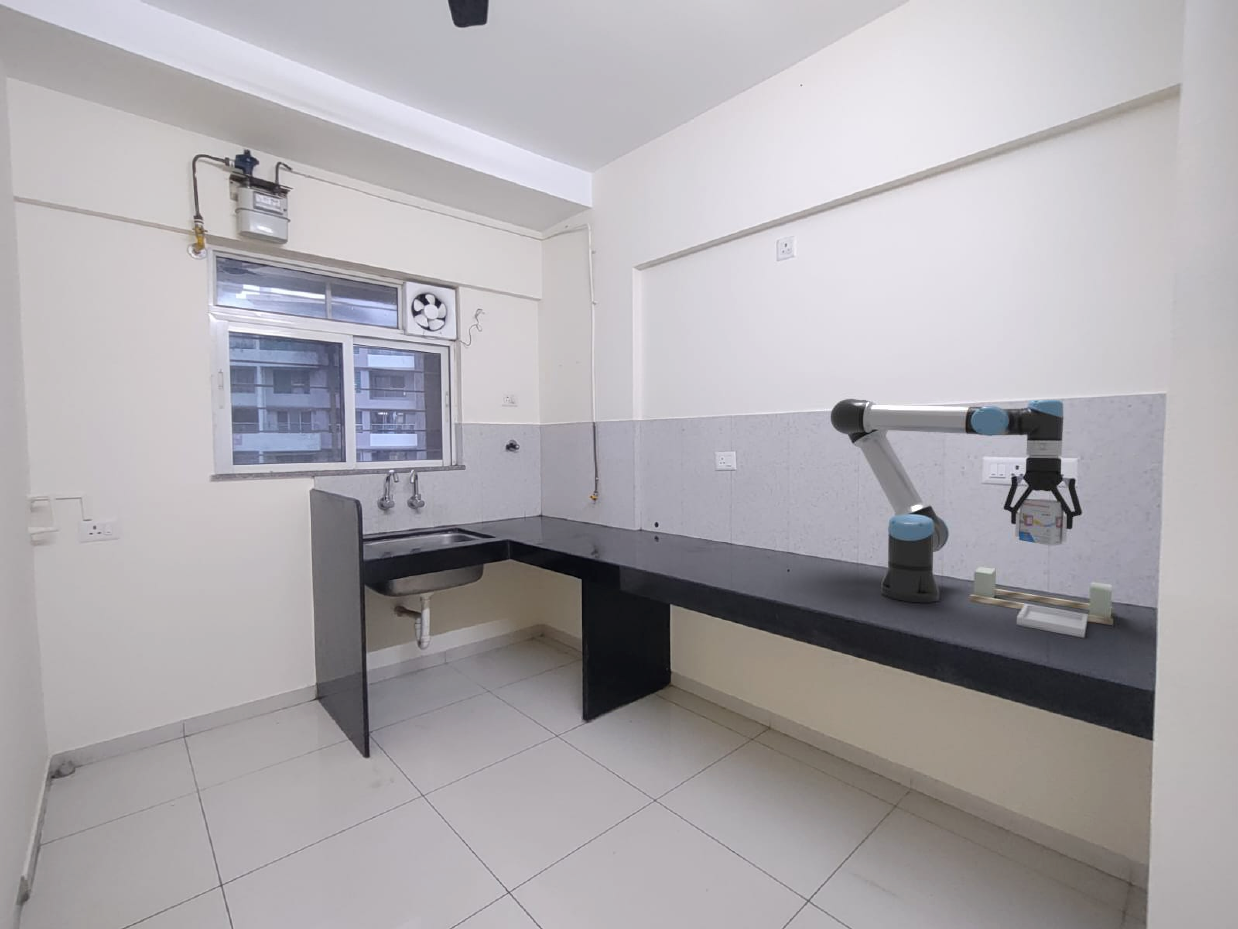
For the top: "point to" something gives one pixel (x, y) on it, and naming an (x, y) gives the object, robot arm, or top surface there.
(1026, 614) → the tray
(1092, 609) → the block
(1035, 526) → the ink box
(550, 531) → the top surface
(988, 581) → the block
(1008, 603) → the rail rack
